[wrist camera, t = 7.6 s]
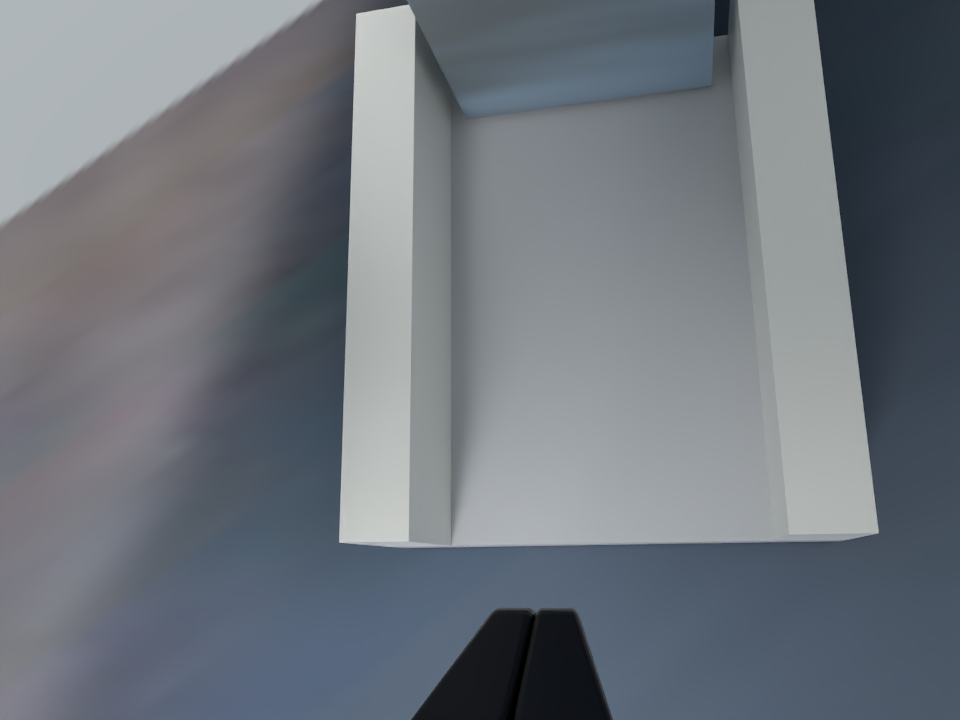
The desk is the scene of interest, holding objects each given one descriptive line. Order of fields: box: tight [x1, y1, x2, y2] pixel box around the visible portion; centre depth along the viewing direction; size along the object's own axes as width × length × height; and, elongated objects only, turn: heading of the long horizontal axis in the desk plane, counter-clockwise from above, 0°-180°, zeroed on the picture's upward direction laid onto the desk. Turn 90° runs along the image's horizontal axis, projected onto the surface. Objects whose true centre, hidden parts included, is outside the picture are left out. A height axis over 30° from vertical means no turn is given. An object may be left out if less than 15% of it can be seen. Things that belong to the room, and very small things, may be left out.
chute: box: [339, 0, 879, 548], centre depth 16 cm, size 10×8×3 cm
